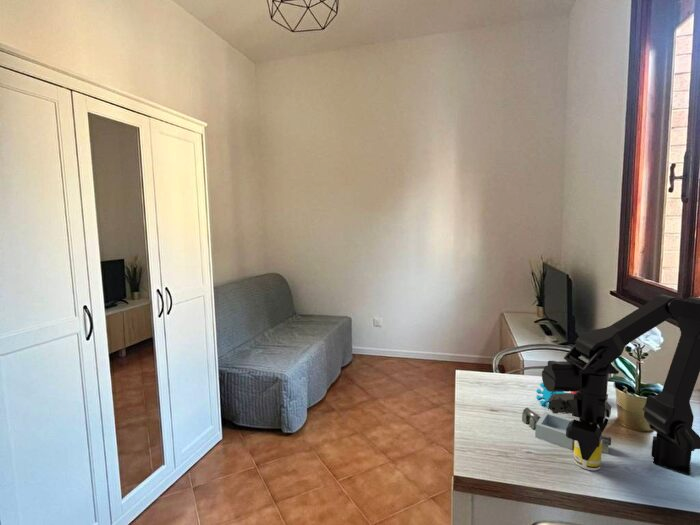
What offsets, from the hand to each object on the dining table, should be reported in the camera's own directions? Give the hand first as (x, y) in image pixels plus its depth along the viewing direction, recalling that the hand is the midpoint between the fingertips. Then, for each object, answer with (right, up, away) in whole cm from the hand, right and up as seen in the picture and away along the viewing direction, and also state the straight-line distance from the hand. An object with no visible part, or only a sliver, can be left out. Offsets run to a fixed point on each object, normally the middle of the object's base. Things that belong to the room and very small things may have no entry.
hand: (587, 453), depth 88 cm
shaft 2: (+6, -2, +7) cm, 9 cm away
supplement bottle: (0, -3, 0) cm, 3 cm away
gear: (+7, +1, +28) cm, 28 cm away
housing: (-1, -1, +11) cm, 12 cm away
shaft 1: (-5, -1, +17) cm, 18 cm away
